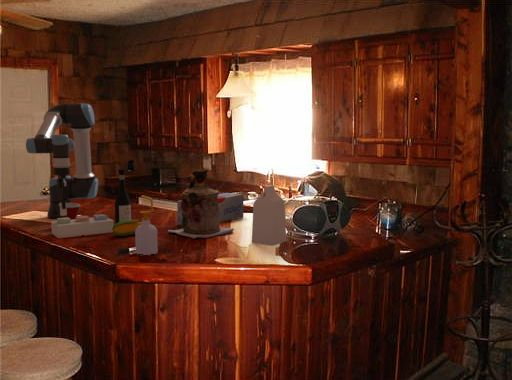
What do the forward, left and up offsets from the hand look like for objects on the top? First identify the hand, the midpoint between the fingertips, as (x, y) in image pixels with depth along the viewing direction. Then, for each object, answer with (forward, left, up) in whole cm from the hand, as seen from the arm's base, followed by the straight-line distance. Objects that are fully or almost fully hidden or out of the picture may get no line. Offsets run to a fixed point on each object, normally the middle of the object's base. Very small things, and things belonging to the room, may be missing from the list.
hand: (63, 215), depth 274 cm
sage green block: (0, 0, -7) cm, 7 cm away
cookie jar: (+31, +59, -10) cm, 67 cm away
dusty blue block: (0, +18, -7) cm, 19 cm away
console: (0, +9, -10) cm, 13 cm away
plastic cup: (-20, +8, -10) cm, 24 cm away
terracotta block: (0, +9, -7) cm, 11 cm away
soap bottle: (+57, +20, -10) cm, 61 cm away
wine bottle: (-7, +32, -10) cm, 34 cm away
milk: (+66, +76, -10) cm, 101 cm away
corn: (+16, +28, -10) cm, 34 cm away
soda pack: (+5, +79, -10) cm, 79 cm away
